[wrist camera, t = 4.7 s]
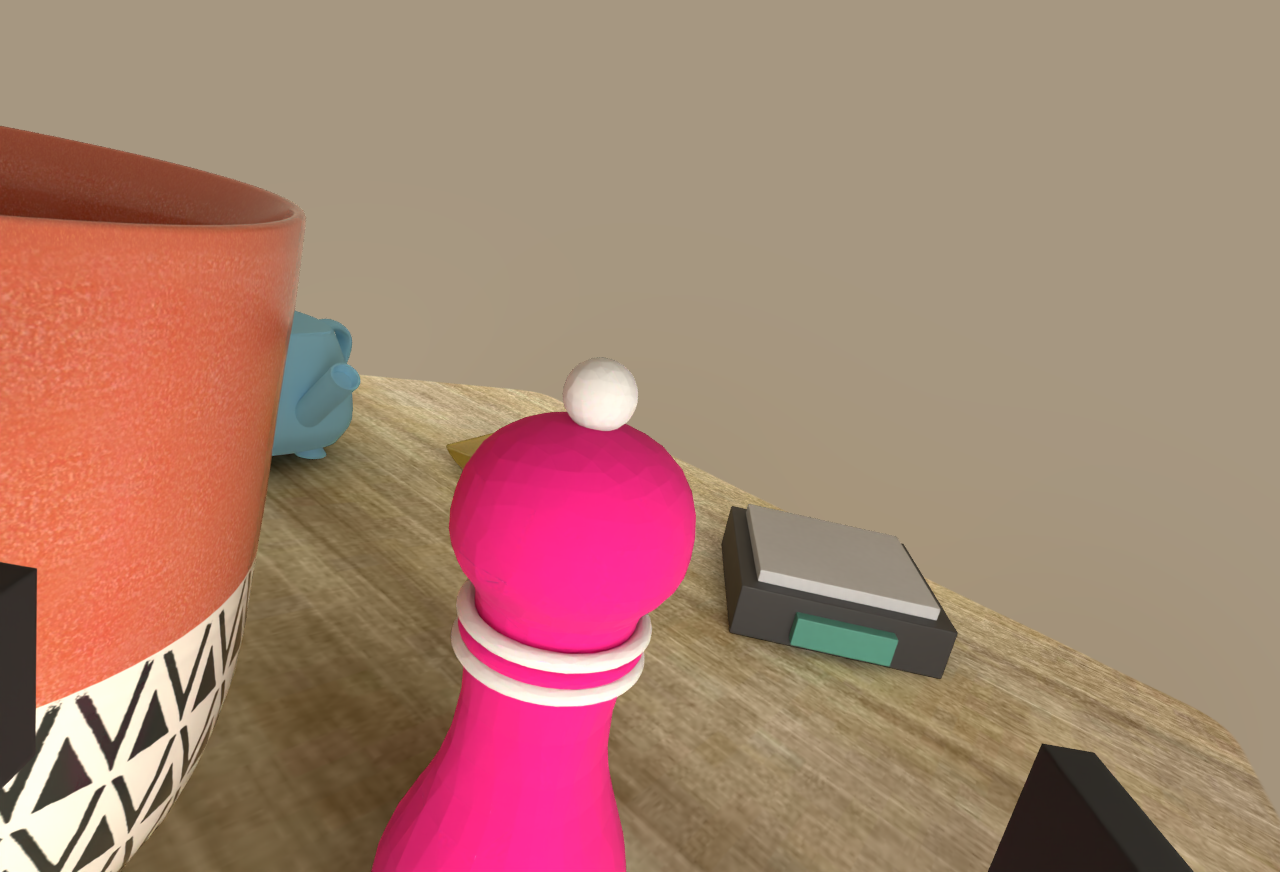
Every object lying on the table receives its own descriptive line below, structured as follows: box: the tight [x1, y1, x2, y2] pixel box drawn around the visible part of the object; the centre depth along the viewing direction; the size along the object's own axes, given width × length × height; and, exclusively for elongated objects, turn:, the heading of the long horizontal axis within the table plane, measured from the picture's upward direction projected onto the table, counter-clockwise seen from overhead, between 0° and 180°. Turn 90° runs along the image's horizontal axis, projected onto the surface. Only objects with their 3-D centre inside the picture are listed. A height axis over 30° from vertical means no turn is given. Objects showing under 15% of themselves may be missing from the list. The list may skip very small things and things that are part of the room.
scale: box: [722, 504, 958, 679], centre depth 55 cm, size 14×13×4 cm
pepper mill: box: [371, 357, 696, 872], centre depth 22 cm, size 7×7×20 cm
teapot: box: [272, 311, 360, 459], centre depth 59 cm, size 15×14×11 cm
